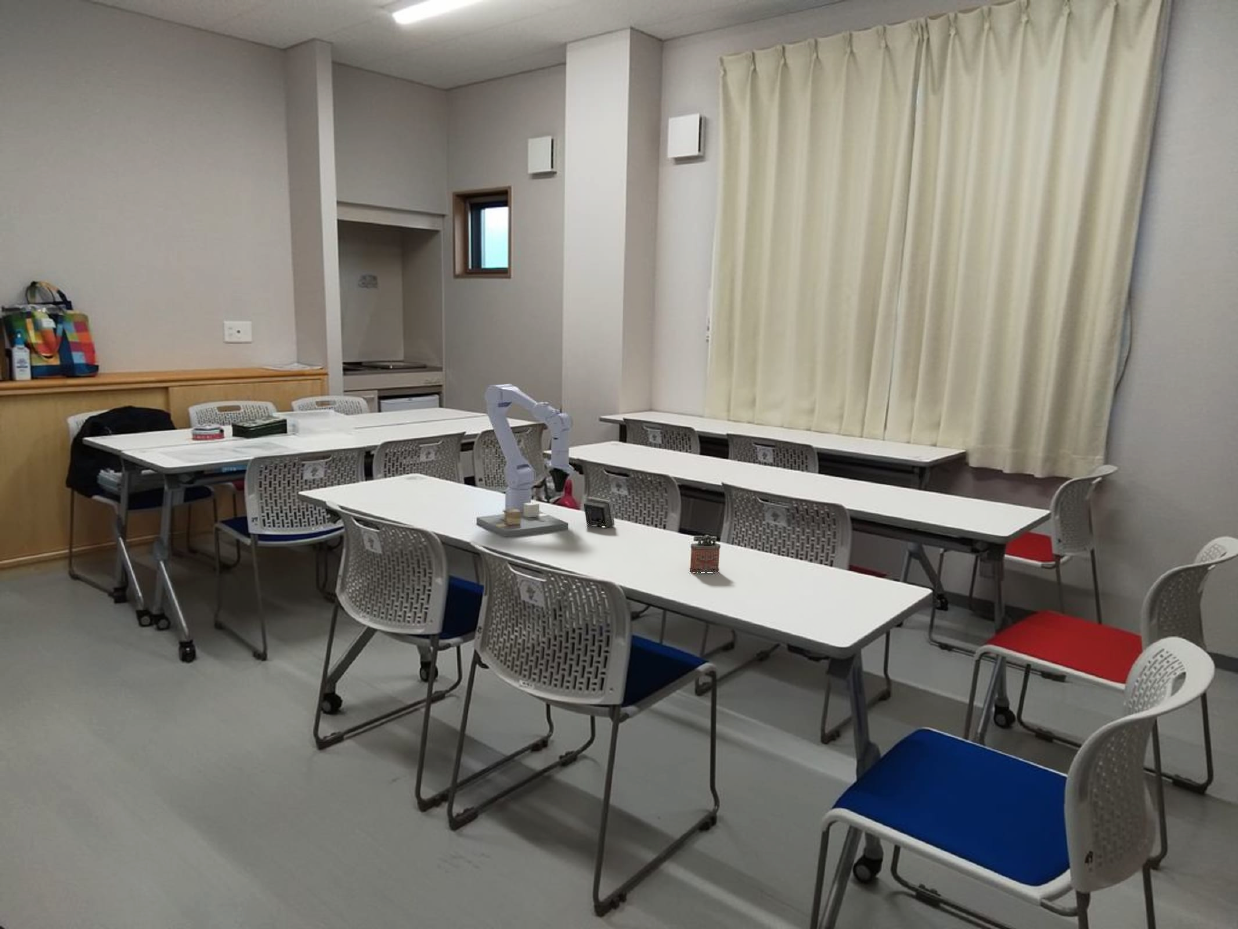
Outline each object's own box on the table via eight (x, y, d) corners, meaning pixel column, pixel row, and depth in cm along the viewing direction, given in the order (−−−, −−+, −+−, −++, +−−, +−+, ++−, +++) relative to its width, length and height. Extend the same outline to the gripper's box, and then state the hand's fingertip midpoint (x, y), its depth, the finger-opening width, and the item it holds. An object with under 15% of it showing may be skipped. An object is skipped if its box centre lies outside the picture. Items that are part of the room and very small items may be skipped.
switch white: (523, 515, 267) (523, 503, 267) (534, 514, 270) (534, 502, 269) (528, 517, 265) (528, 505, 264) (539, 516, 267) (539, 504, 267)
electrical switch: (615, 526, 266) (614, 499, 264) (606, 531, 262) (605, 503, 260) (591, 522, 271) (590, 495, 269) (582, 526, 267) (581, 499, 265)
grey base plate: (476, 523, 264) (476, 516, 264) (536, 515, 277) (536, 509, 276) (505, 537, 248) (505, 531, 248) (568, 529, 261) (568, 522, 260)
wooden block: (504, 523, 257) (504, 510, 256) (515, 521, 259) (516, 509, 258) (509, 525, 254) (509, 512, 254) (520, 523, 257) (520, 511, 256)
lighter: (716, 569, 224) (718, 533, 222) (720, 573, 221) (722, 537, 219) (688, 570, 223) (689, 534, 221) (691, 574, 219) (693, 537, 218)
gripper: (538, 448, 272) (537, 488, 274) (560, 454, 260) (559, 497, 263) (557, 446, 276) (556, 486, 278) (579, 453, 264) (578, 495, 267)
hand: (559, 491), depth 271 cm, fingers closed
